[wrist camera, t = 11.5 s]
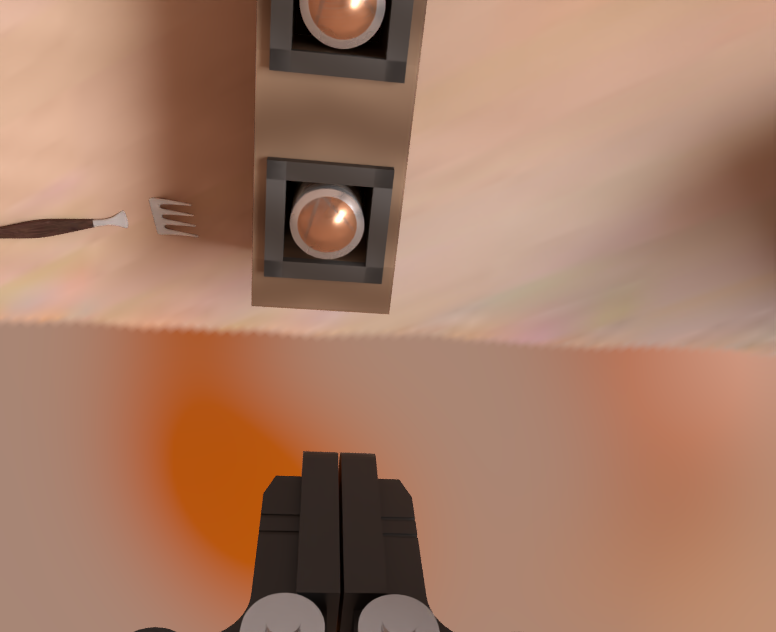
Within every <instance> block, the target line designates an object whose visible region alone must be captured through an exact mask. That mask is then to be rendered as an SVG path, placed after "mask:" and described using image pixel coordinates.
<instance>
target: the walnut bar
mask: <svg viewBox="0 0 776 632" xmlns="http://www.w3.org/2000/svg"><path fill="white" fill-rule="evenodd" d="M385 2H386V3H385V13H384V17H383V20H382V23H381V29H380V39H379V42H370V41H366V42H365V43H363V44H362V45H359V46H357V47H353V48H348V49H339V48H334V47H330V46H328V45H326V44H324V43H322V42H321V41H319V40H318V39H317V38H315V37H314V36H313V35H304V34H295V12H296V0H257V23H256V80H255V136H254V193H253V250H252V306H262V307H279V308H295V309H312V310H329V311H345V312H362V313H378V314H389V310H390V302H391V294H392V285H393V277H394V269H395V261H396V252H397V244H398V236H399V228H400V219H401V211H402V203H403V195H404V187H405V178H406V170H407V162H408V154H409V145H410V137H411V129H412V121H413V112H414V104H415V96H416V88H417V79H418V71H419V63H420V55H421V46H422V38H423V30H424V22H425V14H426V5H427V0H385ZM288 181H301V182H314V183H326V184H338V185H351V186H363V187H365V198H364V208H363V217H364V232H363V235H362V238H361V240H360V242H359V243H358V245H357V246H356V247H355V248H354V249H353V250H352V251H351V252H349V253H348V254H346V255H344V256H342V257H339V258H335V259H320V258H316V257H313V256H311V255H309V254H307V253H306V252H304V251H303V250H302V249H301V248H300V247H299V246H298V245H297V244H296V242H295V241H294V239H293V237H292V234H291V230H290V217H291V212H289V211H287V205H288Z"/></svg>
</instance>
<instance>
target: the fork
mask: <svg viewBox="0 0 776 632" xmlns="http://www.w3.org/2000/svg"><path fill="white" fill-rule="evenodd" d="M149 203H150V207H151V211H152V214H153V218H154V222H155V225H156V229H157V233H158V234H160V235H182V236H193V237H199V235H194V234H190V233H185V232H181V231H176V230H170V229H167V228H165V225H181V226H192V227H196V225H193V224H189V223H184V222H179V221H174V220H168V219H165V218H163V217H162V215H183V216H194V215H192V214H188V213H183V212H178V211H173V210H167V209H163V208H161V207H160V205H161V204H171V205H187V206H192V204H188V203H183V202H178V201H173V200H167V199H160V198H150V199H149ZM103 225H115V226H120V227H124V228H128V220H127V216H126V214H125V212H124V211H121V212H119V213H118V214H116V215H115V216H113V217H111V218H107V219H42V220H34V221H28V222H22V223H18V224H13V225H8V226H3V227H0V238H40V237H48V236H54V235H59V234H64V233H69V232H74V231H78V230H83V229H88V228H92V227H97V226H103Z"/></svg>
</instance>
